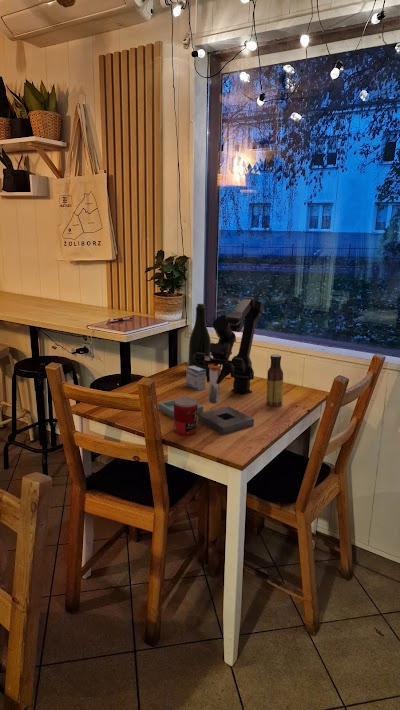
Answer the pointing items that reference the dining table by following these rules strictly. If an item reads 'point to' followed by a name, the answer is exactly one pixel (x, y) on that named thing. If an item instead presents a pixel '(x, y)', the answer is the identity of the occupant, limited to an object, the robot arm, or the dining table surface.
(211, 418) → the block
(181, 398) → the canned food
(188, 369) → the medicine box
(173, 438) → the dining table surface
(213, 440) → the dining table surface
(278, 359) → the sauce bottle
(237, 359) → the robot arm
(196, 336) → the wine bottle
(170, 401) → the tray
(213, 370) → the hitch pin
